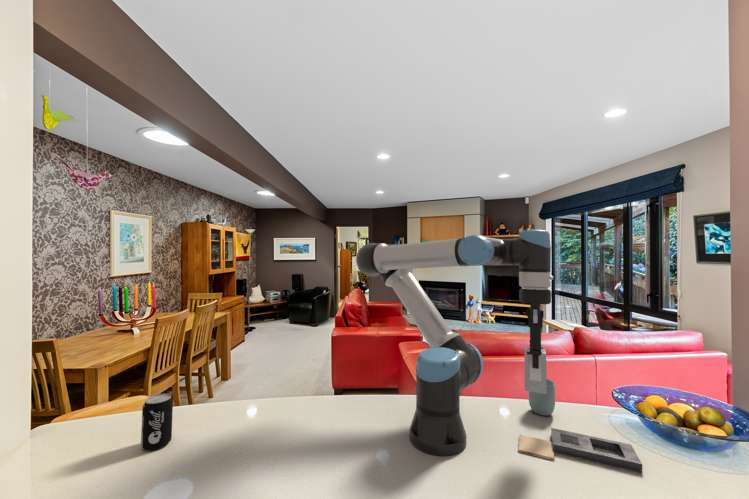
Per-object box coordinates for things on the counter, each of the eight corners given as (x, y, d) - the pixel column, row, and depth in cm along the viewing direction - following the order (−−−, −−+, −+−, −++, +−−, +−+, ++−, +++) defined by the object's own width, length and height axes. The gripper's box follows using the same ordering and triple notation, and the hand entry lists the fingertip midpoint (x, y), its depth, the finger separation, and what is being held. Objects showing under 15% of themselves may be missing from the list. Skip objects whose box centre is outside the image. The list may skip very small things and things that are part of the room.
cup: (559, 419, 99) (558, 387, 99) (532, 417, 100) (531, 384, 101) (550, 408, 106) (550, 378, 107) (525, 406, 108) (525, 376, 108)
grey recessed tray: (553, 452, 82) (553, 443, 82) (551, 435, 90) (551, 427, 90) (642, 473, 74) (642, 463, 74) (631, 452, 82) (631, 444, 82)
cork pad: (518, 451, 82) (518, 449, 82) (519, 436, 89) (519, 434, 89) (554, 460, 78) (554, 458, 78) (552, 444, 85) (552, 441, 85)
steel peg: (524, 390, 83) (524, 351, 83) (525, 383, 87) (524, 347, 88) (546, 394, 81) (546, 354, 81) (545, 387, 85) (545, 349, 86)
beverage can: (177, 441, 84) (178, 395, 85) (150, 455, 79) (152, 405, 79) (161, 435, 87) (163, 391, 88) (135, 448, 81) (136, 400, 82)
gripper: (553, 291, 75) (553, 391, 74) (549, 286, 91) (549, 368, 91) (518, 289, 79) (518, 385, 78) (520, 285, 95) (520, 364, 94)
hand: (535, 376), depth 84 cm, fingers closed on steel peg, 5 cm apart
